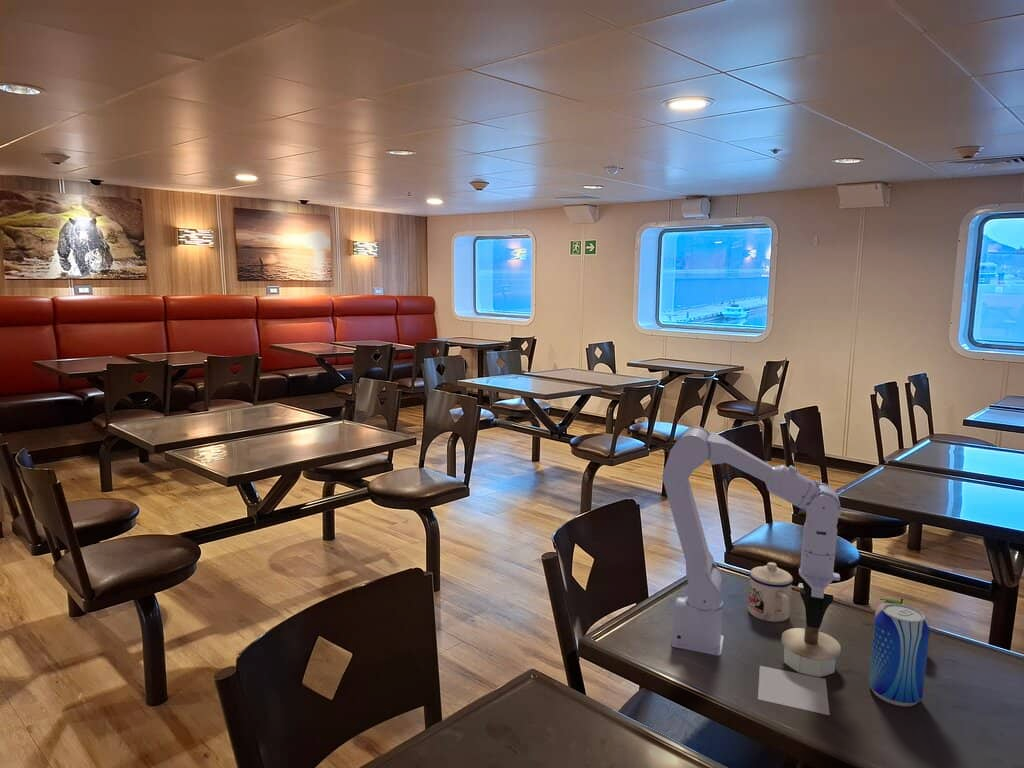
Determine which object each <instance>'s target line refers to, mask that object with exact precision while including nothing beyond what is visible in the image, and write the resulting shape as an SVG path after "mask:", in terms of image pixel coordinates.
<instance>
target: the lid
mask: <svg viewBox="0 0 1024 768" xmlns="http://www.w3.org/2000/svg"><path fill="white" fill-rule="evenodd" d="M781 644H782V645H783V647H784V648H785V647H786V648H787V649H788V650H789V651H791V652H793V653H795V654H797V655H799V656H802V657H805V658H809V659H814V660H831V659H835V658H836V659H837V658H838V657H839V656H841V655H840V654H841V651H842V650H841V647H842V646H841V644H840V643H839V642H838V640H837V639H835V638H834V637H833V636H831V635H829V634H827V633H825V632H822V631H820V628H819V629H818V628H812V627H808V626H807V623H806V622H805V624H804V628H803V627H794V628H790V629H786V630H785V631H783V632H782V634H781Z"/></svg>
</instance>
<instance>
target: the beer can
mask: <svg viewBox="0 0 1024 768" xmlns="http://www.w3.org/2000/svg"><path fill="white" fill-rule="evenodd" d="M907 605H908V604H904V605H902V604H886V605H884V606H883V607H882V611H881V612H880V613H879V614H878V615H877V616H876V618H875V617H874V627H873V634H872V635H873V637H872V646H871V647H872V649H871V656H870V667H869V677H868V685H869V687H870V689H871V690H872V692H873V694H874V695H875V696H877V698H879V700H883V701H884V702H886V703H888V704H892V705H894V706H899V707H912V706H915V705H916V704H918V703H919V702H920V701H922V700H923V695H924V689H925V688H924V687H925V677H926V669H927V668H926V667H927V659H928V658H927V657H928V651H929V642H930V634H931V630H930V627H929V625H928V624H927V621H926V616H925V614H924V613H923V612H922V611H921V610H920V609H918V608H916V607H915V608H916V609H915V608H913V607H914V606H913V607H910V606H911V605H910V606H907ZM917 609H918V610H917Z"/></svg>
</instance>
